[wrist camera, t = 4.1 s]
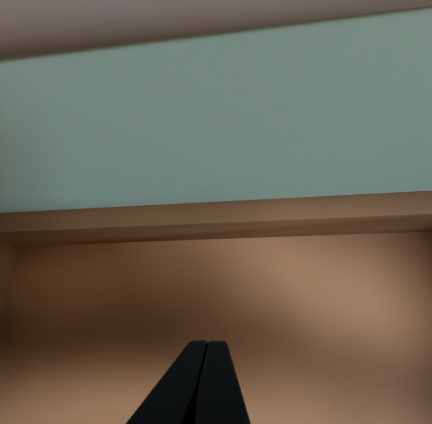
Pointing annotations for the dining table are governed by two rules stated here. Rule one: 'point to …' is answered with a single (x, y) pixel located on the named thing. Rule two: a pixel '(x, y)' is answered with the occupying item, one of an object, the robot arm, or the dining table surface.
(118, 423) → the open wooden crate
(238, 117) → the panel
